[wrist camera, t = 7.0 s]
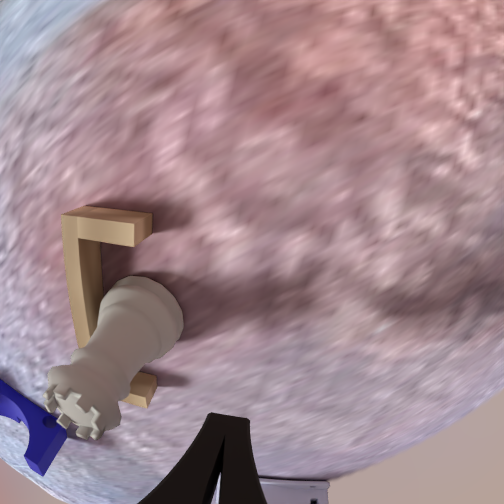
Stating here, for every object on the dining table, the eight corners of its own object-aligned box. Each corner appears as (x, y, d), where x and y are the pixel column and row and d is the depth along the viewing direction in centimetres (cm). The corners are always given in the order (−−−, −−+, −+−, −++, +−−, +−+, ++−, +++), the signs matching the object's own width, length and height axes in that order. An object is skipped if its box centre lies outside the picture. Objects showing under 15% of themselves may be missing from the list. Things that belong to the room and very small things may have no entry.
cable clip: (-11, 387, 22) (-37, 416, 16) (-19, 361, 21) (-50, 392, 15) (69, 442, 23) (45, 481, 17) (65, 421, 21) (37, 465, 15)
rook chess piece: (97, 294, 16) (8, 381, 8) (151, 256, 14) (53, 351, 7) (145, 354, 17) (85, 458, 9) (203, 326, 15) (153, 451, 8)
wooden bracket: (152, 213, 14) (134, 223, 12) (157, 386, 17) (147, 408, 15) (84, 205, 14) (61, 214, 12) (102, 371, 18) (89, 389, 16)
